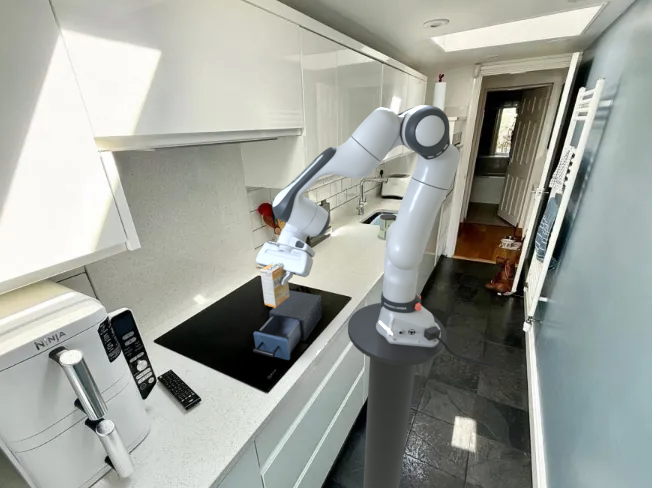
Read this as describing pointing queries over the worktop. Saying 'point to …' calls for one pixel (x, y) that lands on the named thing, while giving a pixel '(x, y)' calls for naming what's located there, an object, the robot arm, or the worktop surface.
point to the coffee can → (385, 224)
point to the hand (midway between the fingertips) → (274, 282)
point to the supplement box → (274, 284)
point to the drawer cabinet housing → (301, 310)
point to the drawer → (278, 337)
